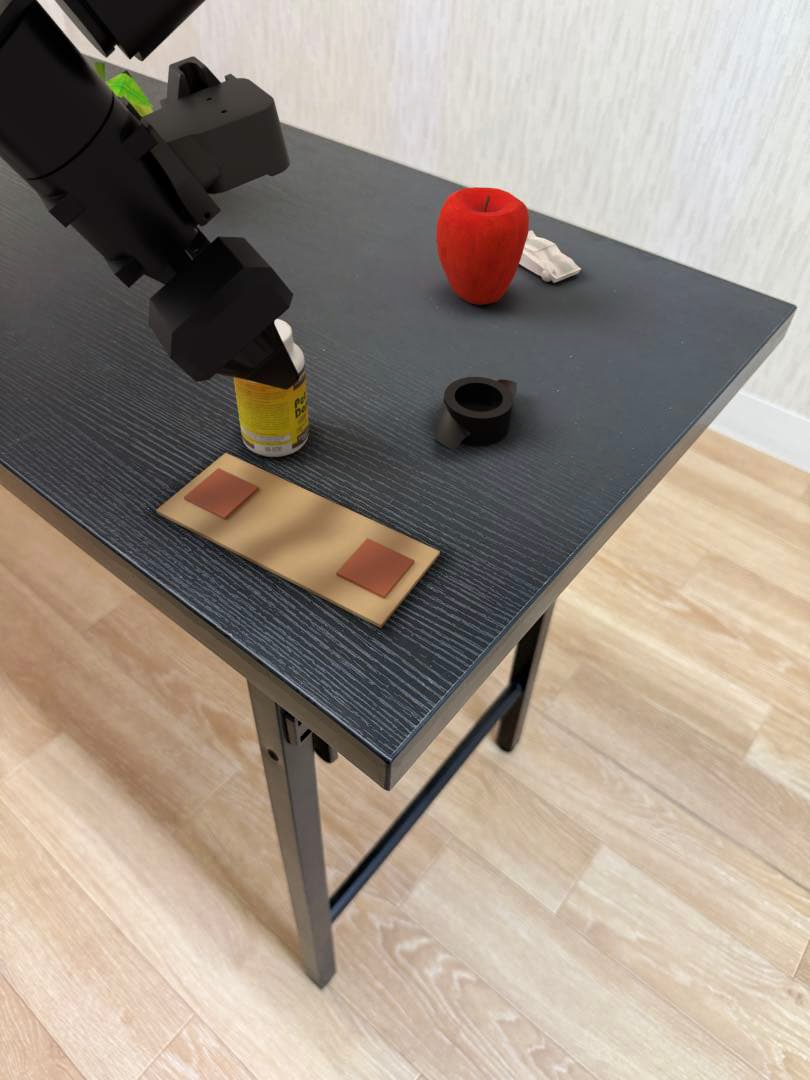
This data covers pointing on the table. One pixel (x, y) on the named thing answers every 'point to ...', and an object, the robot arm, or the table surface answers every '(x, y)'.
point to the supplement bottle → (275, 408)
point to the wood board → (302, 537)
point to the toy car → (546, 259)
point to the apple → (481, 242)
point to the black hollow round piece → (475, 412)
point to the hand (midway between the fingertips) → (261, 344)
